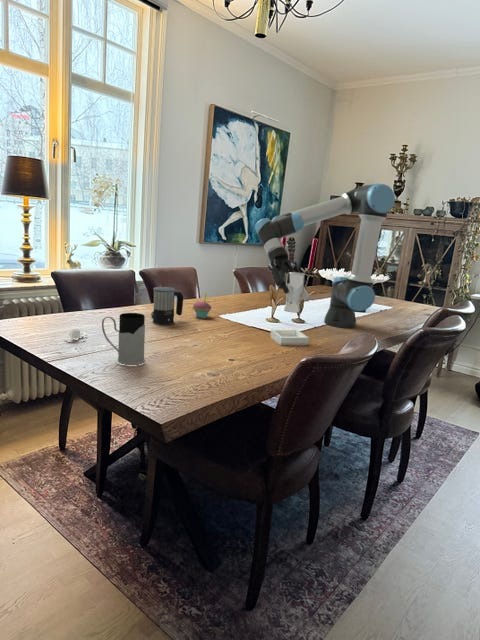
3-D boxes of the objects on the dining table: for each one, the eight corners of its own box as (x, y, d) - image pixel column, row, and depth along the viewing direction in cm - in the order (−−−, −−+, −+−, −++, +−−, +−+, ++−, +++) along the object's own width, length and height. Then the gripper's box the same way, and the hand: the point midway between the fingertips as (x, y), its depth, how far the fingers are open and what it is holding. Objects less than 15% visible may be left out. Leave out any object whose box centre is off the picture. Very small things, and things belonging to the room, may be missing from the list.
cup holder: (296, 336, 181) (297, 329, 180) (308, 345, 170) (309, 337, 170) (270, 336, 178) (271, 329, 177) (280, 345, 167) (281, 337, 166)
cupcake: (214, 317, 204) (215, 292, 201) (203, 320, 196) (204, 294, 194) (199, 313, 208) (201, 289, 205) (188, 316, 201) (189, 291, 198)
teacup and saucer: (83, 336, 160) (83, 325, 159) (93, 341, 154) (93, 330, 153) (59, 339, 154) (59, 328, 153) (69, 345, 148) (69, 334, 147)
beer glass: (300, 313, 167) (304, 275, 164) (282, 311, 169) (286, 273, 165) (301, 310, 174) (305, 273, 170) (283, 308, 175) (287, 271, 172)
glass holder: (138, 368, 131) (140, 320, 128) (95, 362, 134) (95, 314, 130) (149, 359, 140) (151, 314, 136) (108, 353, 142) (108, 309, 138)
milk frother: (163, 326, 181) (165, 291, 177) (136, 319, 188) (137, 285, 185) (185, 320, 192) (187, 288, 189) (158, 314, 200) (159, 282, 197)
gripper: (289, 257, 184) (311, 303, 176) (252, 257, 173) (275, 305, 164) (299, 246, 179) (323, 292, 170) (262, 245, 167) (285, 294, 159)
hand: (299, 299), depth 167 cm, fingers closed on beer glass, 7 cm apart
